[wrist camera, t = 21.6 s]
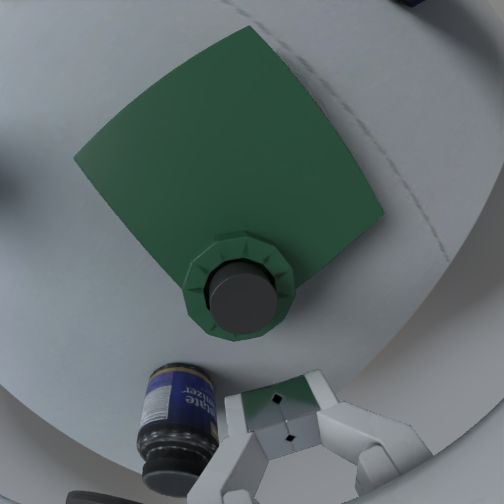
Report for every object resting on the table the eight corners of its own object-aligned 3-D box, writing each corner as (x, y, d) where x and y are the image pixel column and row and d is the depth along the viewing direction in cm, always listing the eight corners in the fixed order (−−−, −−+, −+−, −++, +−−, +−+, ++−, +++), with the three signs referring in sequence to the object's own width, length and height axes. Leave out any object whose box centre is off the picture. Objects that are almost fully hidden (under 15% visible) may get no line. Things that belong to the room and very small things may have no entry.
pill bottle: (227, 390, 24) (243, 489, 13) (179, 414, 24) (177, 506, 14) (184, 349, 22) (178, 457, 12) (135, 378, 22) (113, 475, 12)
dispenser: (364, 210, 21) (401, 221, 17) (226, 320, 22) (232, 357, 17) (243, 44, 16) (254, 11, 12) (89, 162, 17) (56, 159, 12)
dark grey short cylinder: (281, 292, 17) (290, 307, 15) (235, 327, 17) (239, 346, 15) (244, 248, 16) (250, 259, 14) (196, 287, 16) (195, 303, 14)
